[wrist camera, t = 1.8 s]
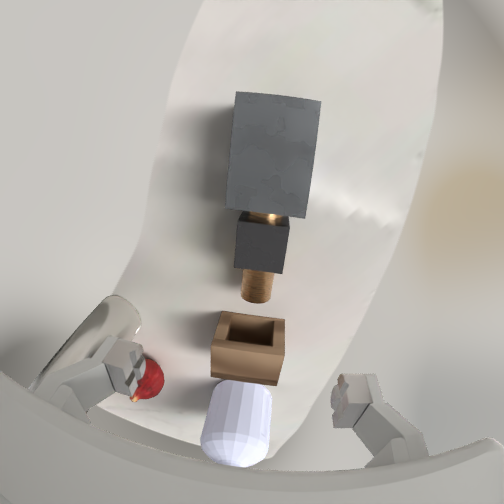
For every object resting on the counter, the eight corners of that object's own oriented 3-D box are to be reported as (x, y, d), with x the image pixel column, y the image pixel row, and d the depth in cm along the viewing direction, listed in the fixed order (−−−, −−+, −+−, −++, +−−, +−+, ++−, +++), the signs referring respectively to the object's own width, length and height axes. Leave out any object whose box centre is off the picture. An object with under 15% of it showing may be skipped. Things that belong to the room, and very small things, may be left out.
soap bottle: (276, 381, 36) (263, 546, 14) (267, 413, 40) (253, 548, 17) (214, 372, 37) (171, 531, 14) (213, 405, 40) (181, 537, 18)
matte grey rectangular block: (246, 103, 23) (235, 91, 17) (311, 110, 22) (321, 101, 17) (237, 192, 26) (225, 208, 20) (299, 200, 26) (305, 218, 20)
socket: (222, 310, 32) (210, 345, 26) (284, 319, 32) (284, 355, 26) (220, 341, 34) (210, 376, 28) (278, 349, 34) (276, 386, 28)
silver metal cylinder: (121, 337, 36) (37, 471, 13) (94, 303, 34) (-10, 431, 11) (150, 327, 34) (62, 486, 11) (121, 288, 32) (3, 440, 9)
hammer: (255, 116, 23) (248, 110, 18) (299, 121, 23) (304, 116, 18) (238, 282, 30) (230, 311, 25) (275, 287, 29) (274, 317, 24)
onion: (139, 341, 36) (116, 379, 28) (175, 359, 36) (157, 401, 29) (133, 362, 38) (112, 398, 31) (165, 379, 39) (149, 417, 31)
